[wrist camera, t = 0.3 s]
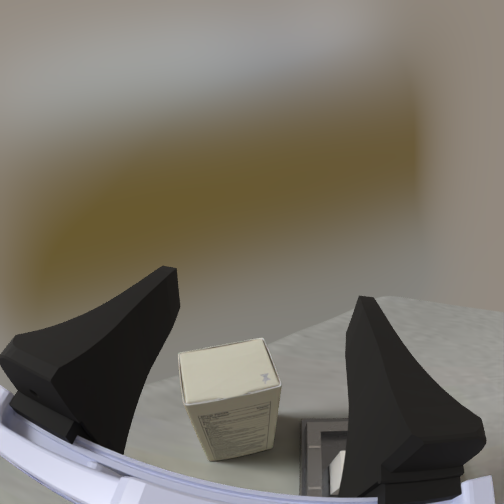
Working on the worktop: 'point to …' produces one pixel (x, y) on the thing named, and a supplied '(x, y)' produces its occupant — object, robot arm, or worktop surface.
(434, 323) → the worktop surface
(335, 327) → the worktop surface
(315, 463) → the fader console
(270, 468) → the worktop surface
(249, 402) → the skincare box
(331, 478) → the fader knob
